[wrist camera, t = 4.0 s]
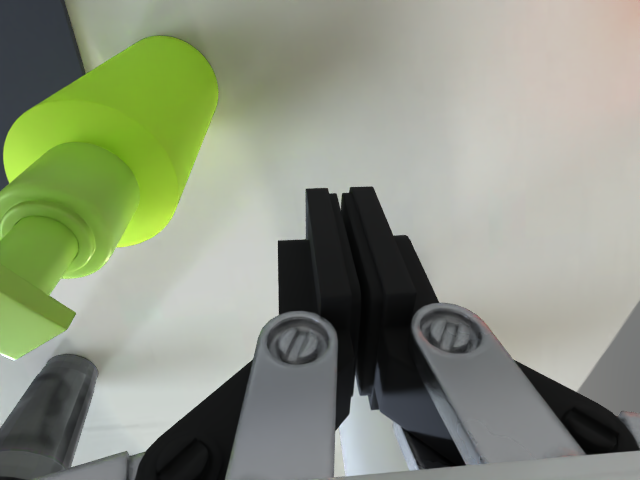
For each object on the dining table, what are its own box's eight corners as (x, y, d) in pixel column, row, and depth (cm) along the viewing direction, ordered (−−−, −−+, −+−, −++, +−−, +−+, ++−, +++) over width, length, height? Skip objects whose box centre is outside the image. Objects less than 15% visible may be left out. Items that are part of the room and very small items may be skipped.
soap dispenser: (160, -5, 23) (-127, 95, 7) (237, 102, 27) (175, 337, 10) (83, 56, 25) (-310, 263, 8) (167, 150, 28) (12, 425, 12)
